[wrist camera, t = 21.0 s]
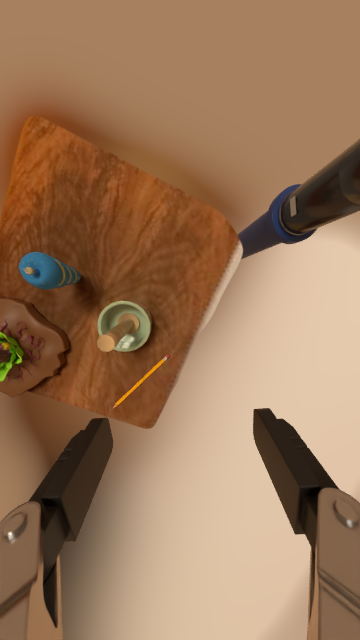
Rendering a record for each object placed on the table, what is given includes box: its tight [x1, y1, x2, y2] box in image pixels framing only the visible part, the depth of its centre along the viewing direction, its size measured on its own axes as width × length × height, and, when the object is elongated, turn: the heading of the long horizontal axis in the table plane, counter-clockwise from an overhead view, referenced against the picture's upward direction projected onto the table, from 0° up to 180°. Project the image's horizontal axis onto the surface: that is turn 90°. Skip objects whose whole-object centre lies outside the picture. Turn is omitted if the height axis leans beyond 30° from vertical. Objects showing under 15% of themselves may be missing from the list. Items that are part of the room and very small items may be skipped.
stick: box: [97, 313, 140, 352], centre depth 31 cm, size 5×5×15 cm
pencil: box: [112, 354, 170, 409], centre depth 42 cm, size 1×19×1 cm
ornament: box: [19, 252, 81, 289], centre depth 29 cm, size 5×5×15 cm
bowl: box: [98, 300, 152, 352], centre depth 37 cm, size 10×10×5 cm
